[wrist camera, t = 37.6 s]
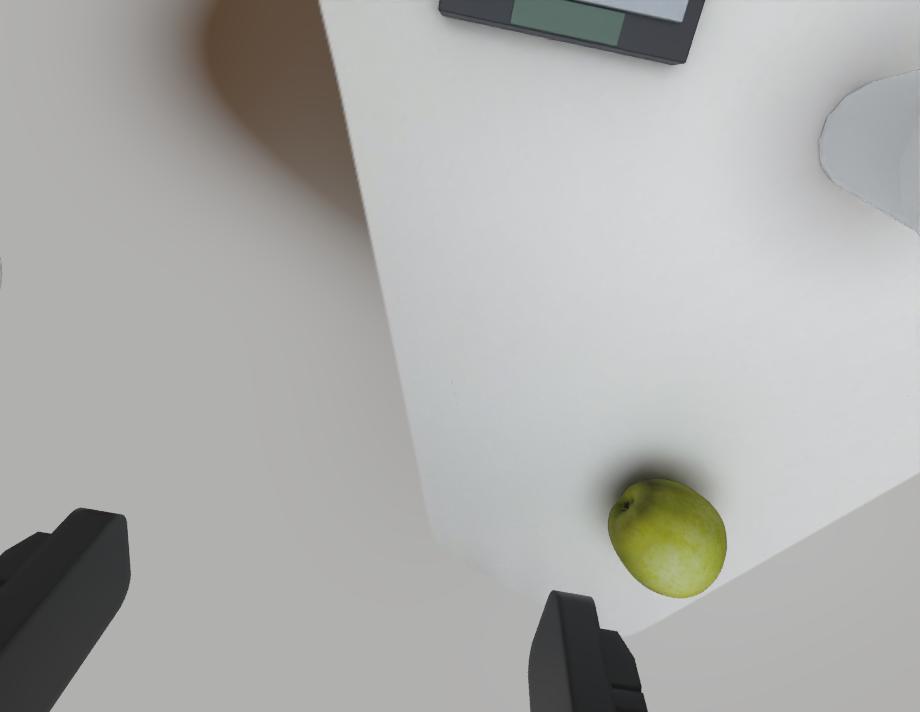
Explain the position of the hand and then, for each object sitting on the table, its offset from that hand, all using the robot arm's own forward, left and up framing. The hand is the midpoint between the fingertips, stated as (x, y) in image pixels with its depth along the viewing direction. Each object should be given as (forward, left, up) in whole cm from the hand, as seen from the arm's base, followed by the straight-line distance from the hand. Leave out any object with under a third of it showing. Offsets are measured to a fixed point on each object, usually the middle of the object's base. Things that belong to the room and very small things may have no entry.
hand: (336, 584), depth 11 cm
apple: (+20, -18, -32) cm, 42 cm away
